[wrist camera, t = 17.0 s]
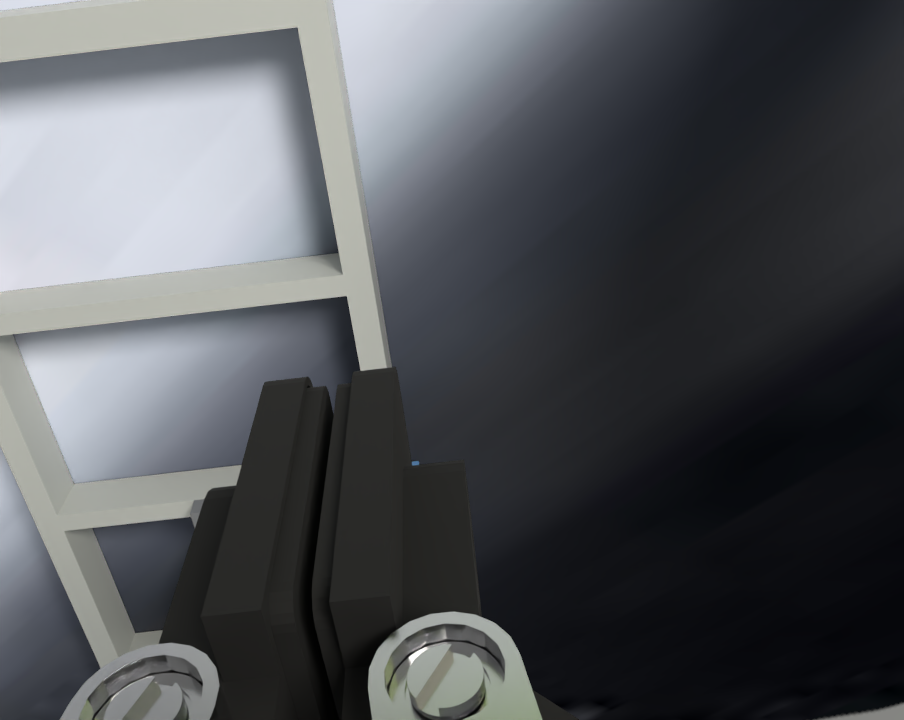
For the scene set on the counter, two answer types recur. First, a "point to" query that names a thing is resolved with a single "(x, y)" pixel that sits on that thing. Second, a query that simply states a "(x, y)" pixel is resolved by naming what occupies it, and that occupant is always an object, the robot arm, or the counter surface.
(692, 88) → the counter surface
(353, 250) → the compartment tray
